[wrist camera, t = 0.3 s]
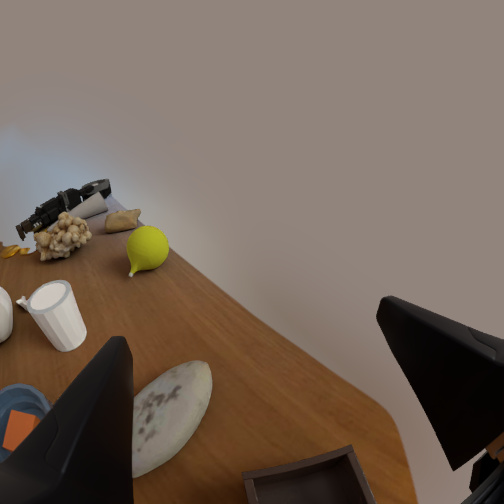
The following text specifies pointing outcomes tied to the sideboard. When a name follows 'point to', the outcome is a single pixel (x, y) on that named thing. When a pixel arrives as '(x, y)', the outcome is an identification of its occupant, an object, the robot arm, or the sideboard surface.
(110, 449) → the robot arm
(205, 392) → the decorative stone
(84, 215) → the long tapered cone
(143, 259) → the ornament
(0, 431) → the bowl
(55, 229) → the mineral formation
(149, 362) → the sideboard surface
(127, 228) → the stone
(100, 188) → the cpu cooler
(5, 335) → the cat figurine
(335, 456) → the holder
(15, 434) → the orange block
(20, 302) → the false teeth
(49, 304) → the shot glass
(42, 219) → the toy
